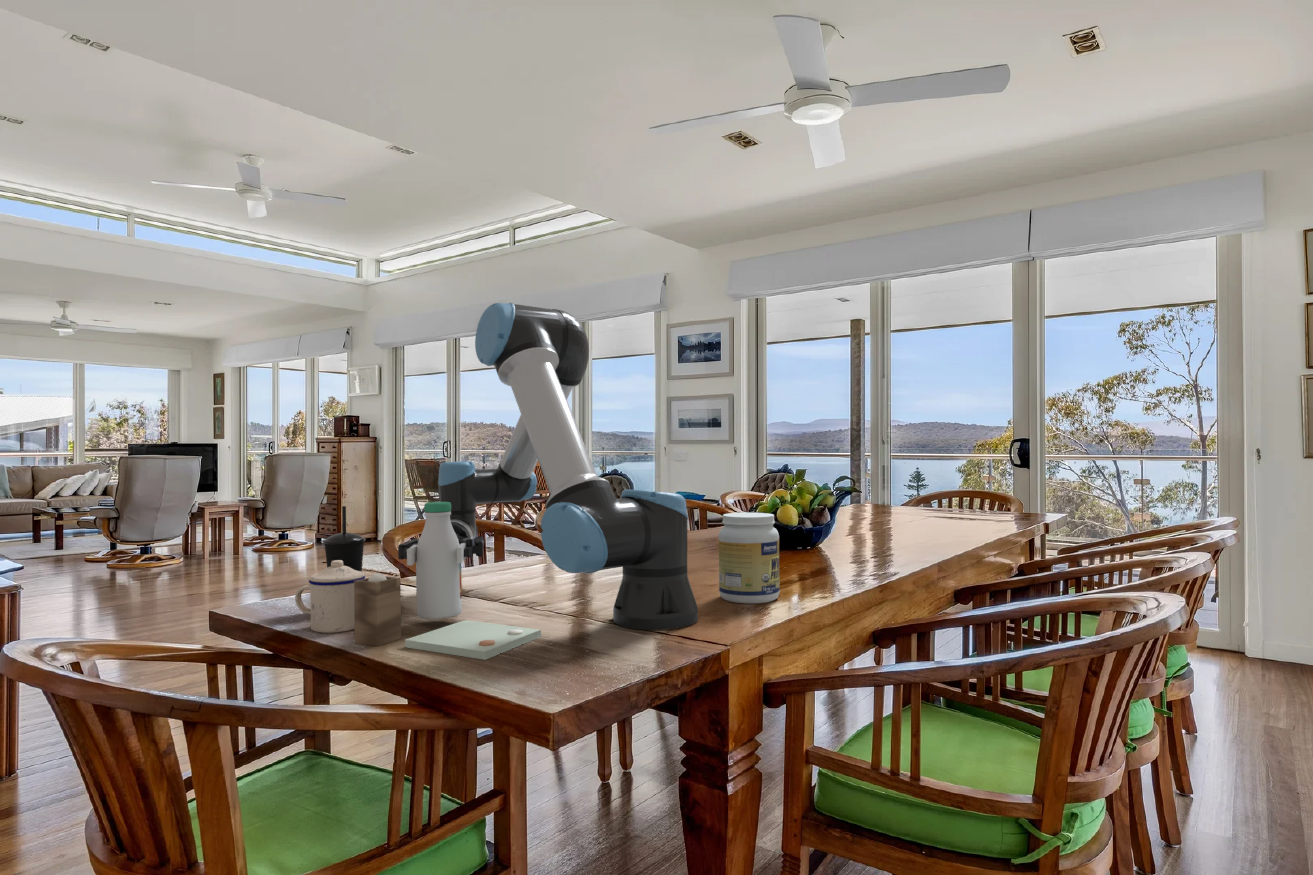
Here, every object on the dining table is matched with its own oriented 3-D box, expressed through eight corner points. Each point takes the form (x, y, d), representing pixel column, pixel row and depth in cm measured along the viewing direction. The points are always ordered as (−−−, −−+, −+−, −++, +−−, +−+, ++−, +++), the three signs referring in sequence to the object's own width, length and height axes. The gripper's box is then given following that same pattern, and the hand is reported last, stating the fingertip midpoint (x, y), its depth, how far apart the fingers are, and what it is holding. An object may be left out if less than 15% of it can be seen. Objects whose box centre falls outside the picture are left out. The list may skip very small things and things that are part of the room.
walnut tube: (400, 638, 123) (400, 577, 123) (377, 646, 119) (376, 583, 119) (378, 635, 126) (378, 575, 126) (354, 642, 121) (354, 580, 121)
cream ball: (391, 590, 123) (391, 572, 123) (376, 594, 120) (376, 575, 120) (378, 589, 124) (377, 571, 124) (363, 592, 122) (363, 574, 122)
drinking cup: (331, 605, 149) (329, 504, 149) (370, 604, 150) (369, 504, 150) (318, 614, 141) (316, 508, 141) (360, 613, 142) (358, 507, 142)
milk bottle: (458, 619, 130) (456, 503, 130) (412, 621, 129) (410, 504, 129) (465, 609, 138) (463, 500, 138) (422, 610, 137) (420, 501, 137)
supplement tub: (771, 607, 143) (769, 518, 143) (710, 602, 148) (709, 516, 148) (786, 594, 155) (785, 512, 155) (729, 590, 159) (728, 510, 159)
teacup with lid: (374, 620, 136) (373, 556, 136) (351, 633, 127) (350, 565, 127) (309, 620, 137) (308, 556, 137) (282, 633, 127) (281, 565, 128)
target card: (541, 637, 123) (540, 627, 123) (485, 659, 111) (485, 649, 111) (465, 626, 131) (465, 618, 131) (405, 647, 118) (405, 637, 118)
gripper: (503, 556, 153) (495, 576, 130) (399, 560, 150) (372, 581, 127) (503, 519, 153) (495, 532, 130) (398, 523, 150) (371, 536, 127)
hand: (434, 556), depth 129 cm, fingers closed on milk bottle, 8 cm apart
